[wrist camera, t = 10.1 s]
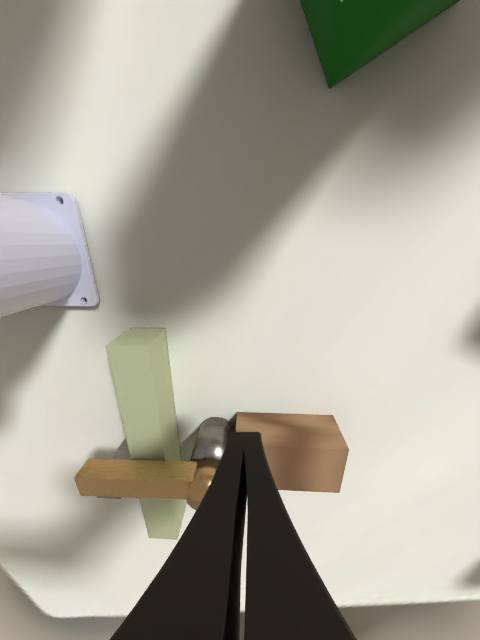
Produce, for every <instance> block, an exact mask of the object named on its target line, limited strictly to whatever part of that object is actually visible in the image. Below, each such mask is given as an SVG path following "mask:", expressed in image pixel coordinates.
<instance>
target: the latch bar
mask: <svg viewBox="0 0 480 640" xmlns="http://www.w3.org/2000/svg"><path fill="white" fill-rule="evenodd" d="M219 463H220V461H218V460H216V459H211V458H206V459H202V460H199V461H198V462H193V461H157V460H121V459H88V460H87V461H86V463H85V464H84V465H83V467H82V468H81V469H80V471H79V472H78V473H77V475H76V476H75V477H74V479H75V482H76V484H77V487H78V489H79V492H80V494H81V495H82V496H109V497H136V498H163V499H186V500H187V503H188V504H189V505H190V506H191V507H192V508H193V509H195V510H197V509H198V507H199V505H200V503H201V501H202V499H203V497H204V495H205V493H206V491H207V489H208V487H209V485H210V483H211V481H212V479H213V476H214V474H215V472H216V470H217V467H218V465H219Z"/></svg>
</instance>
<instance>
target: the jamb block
mask: <svg viewBox="0 0 480 640" xmlns="http://www.w3.org/2000/svg"><path fill="white" fill-rule="evenodd" d="M236 432H259V433H261V438H262V443H263V448H264V452H265V455H266V458H267V462H268V465H269V468H270V471H271V473H272V476H273V479H274V482H275V484H276V487H277V489H278V490H292V491H313V492H333V493H339V492H340V488H341V483H342V479H343V474H344V470H345V465H346V461H347V456H348V452H349V448H348V446H347V444H346V442H345V440H344V438H343V436H342V434H341V431H340V429H339V427H338V425H337V423H336V421H335V419H334V417H333V415H305V414H276V413H246V412H237V420H236Z"/></svg>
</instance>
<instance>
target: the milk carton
mask: <svg viewBox="0 0 480 640" xmlns="http://www.w3.org/2000/svg"><path fill="white" fill-rule="evenodd" d="M300 1H301V4H302V7H303V10H304V13H305V16H306V19H307V22H308V25H309V28H310V31H311V34H312V37H313V40H314V43H315V46H316V49H317V52H318V55H319V58H320V61H321V64H322V67H323V70H324V73H325V76H326V79H327V82H328V85H329V88H331V87H333V86H334V85H336V84H337V83H339V82H340V81H341V80H343V79H344V78H346V77H347V76H349V75H350V74H352V73H353V72H355V71H356V70H358V69H359V68H361V67H362V66H364V65H365V64H367V63H368V62H369V61H371V60H372V59H374V58H375V57H377V56H378V55H380V54H381V53H383V52H384V51H386V50H387V49H389V48H390V47H392V46H393V45H395V44H396V43H398V42H399V41H400V40H402V39H403V38H405V37H406V36H408V35H409V34H411V33H412V32H414V31H415V30H417V29H418V28H420V27H421V26H423V25H424V24H426V23H427V22H429V21H430V20H431V19H433V18H434V17H436V16H437V15H439V14H440V13H442V12H443V11H445V10H446V9H448V8H449V7H451V6H452V5H454V4H455V3H457V2H458V1H459V0H300Z"/></svg>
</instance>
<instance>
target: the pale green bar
mask: <svg viewBox="0 0 480 640" xmlns="http://www.w3.org/2000/svg"><path fill="white" fill-rule="evenodd" d="M106 351H107V355H108V359H109V364H110V368H111V373H112V377H113V382H114V386H115V390H116V395H117V399H118V404H119V408H120V413H121V417H122V421H123V426H124V430H125V435H126V439H127V444H128V448H129V452H130V457H131V460H157V461H181V453H180V445H179V437H178V429H177V420H176V412H175V404H174V396H173V388H172V379H171V371H170V363H169V355H168V347H167V338H166V330H165V328H129V329H128V330H127V331H125V332H124V333H122V334H121V335H120V336H118V337H117V338H115V339H114V340H113V341H111V342H110V343H108V344H107V345H106ZM140 501H141V505H142V510H143V514H144V519H145V523H146V528H147V532H148V536H149V538H158V539H174V540H178V536H179V531H180V527H181V523H182V519H183V515H184V511H185V507H186V499H163V498H140Z"/></svg>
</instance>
